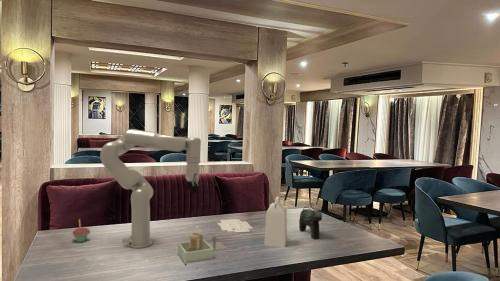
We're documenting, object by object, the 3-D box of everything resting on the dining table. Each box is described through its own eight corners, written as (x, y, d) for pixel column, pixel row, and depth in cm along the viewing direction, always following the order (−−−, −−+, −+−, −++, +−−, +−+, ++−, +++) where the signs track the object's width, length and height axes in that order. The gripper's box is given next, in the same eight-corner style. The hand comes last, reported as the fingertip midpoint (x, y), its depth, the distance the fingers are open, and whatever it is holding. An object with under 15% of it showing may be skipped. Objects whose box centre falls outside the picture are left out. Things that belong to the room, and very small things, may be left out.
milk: (284, 247, 185) (286, 200, 184) (264, 245, 188) (265, 199, 186) (286, 240, 197) (288, 196, 196) (267, 238, 199) (268, 194, 198)
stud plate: (208, 253, 173) (208, 240, 173) (202, 246, 182) (202, 235, 182) (226, 250, 178) (226, 238, 177) (219, 244, 187) (219, 232, 186)
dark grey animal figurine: (322, 239, 199) (323, 206, 199) (312, 240, 197) (314, 207, 196) (304, 229, 218) (305, 199, 217) (296, 230, 216) (297, 199, 215)
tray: (243, 220, 238) (243, 215, 237) (255, 234, 211) (256, 228, 211) (215, 221, 232) (215, 216, 231) (224, 236, 205) (224, 230, 205)
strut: (198, 258, 164) (198, 237, 163) (188, 257, 165) (189, 235, 165) (202, 255, 168) (203, 234, 168) (193, 253, 170) (194, 232, 170)
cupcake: (69, 241, 185) (69, 219, 184) (83, 236, 192) (83, 216, 192) (79, 244, 181) (79, 222, 180) (93, 239, 188) (93, 218, 188)
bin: (185, 265, 158) (185, 252, 157) (177, 254, 170) (178, 243, 170) (213, 260, 164) (213, 248, 164) (204, 250, 176) (204, 239, 176)
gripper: (182, 158, 189) (181, 188, 190) (191, 162, 174) (189, 194, 175) (195, 158, 193) (194, 188, 194) (204, 162, 177) (203, 194, 178)
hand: (192, 191), depth 184 cm, fingers open, 9 cm apart
